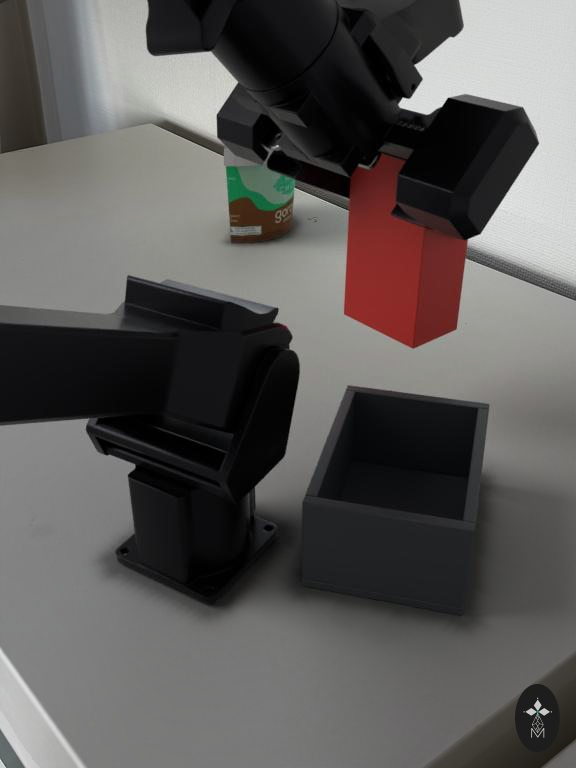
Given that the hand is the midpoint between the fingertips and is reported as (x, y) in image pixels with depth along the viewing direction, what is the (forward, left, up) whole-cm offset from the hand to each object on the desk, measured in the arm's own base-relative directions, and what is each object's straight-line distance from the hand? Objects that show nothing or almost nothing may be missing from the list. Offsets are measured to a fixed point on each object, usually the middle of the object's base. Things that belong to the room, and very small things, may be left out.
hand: (424, 217), depth 52 cm
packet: (-1, +1, -7) cm, 7 cm away
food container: (+23, +26, -14) cm, 37 cm away
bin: (-12, -5, -14) cm, 18 cm away
